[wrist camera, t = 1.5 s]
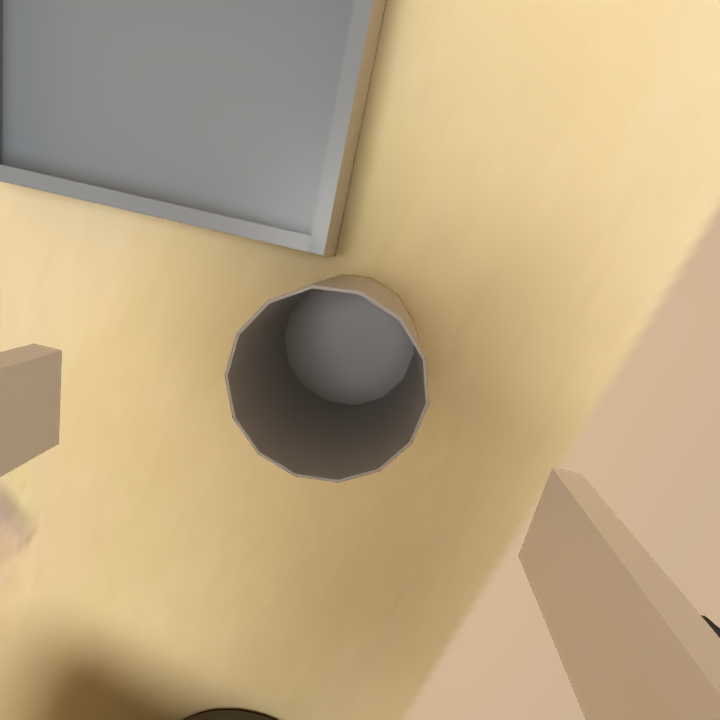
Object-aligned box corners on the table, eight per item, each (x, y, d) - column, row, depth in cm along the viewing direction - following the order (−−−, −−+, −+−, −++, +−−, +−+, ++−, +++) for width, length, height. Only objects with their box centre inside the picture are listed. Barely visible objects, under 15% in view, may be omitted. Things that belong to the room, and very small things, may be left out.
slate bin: (335, 255, 26) (323, 255, 21) (4, 179, 26) (-74, 163, 22) (393, -35, 22) (393, -108, 17) (6, -120, 22) (-89, -212, 18)
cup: (441, 323, 26) (471, 363, 16) (370, 425, 28) (358, 515, 18) (326, 248, 25) (287, 243, 16) (262, 358, 27) (191, 413, 18)
